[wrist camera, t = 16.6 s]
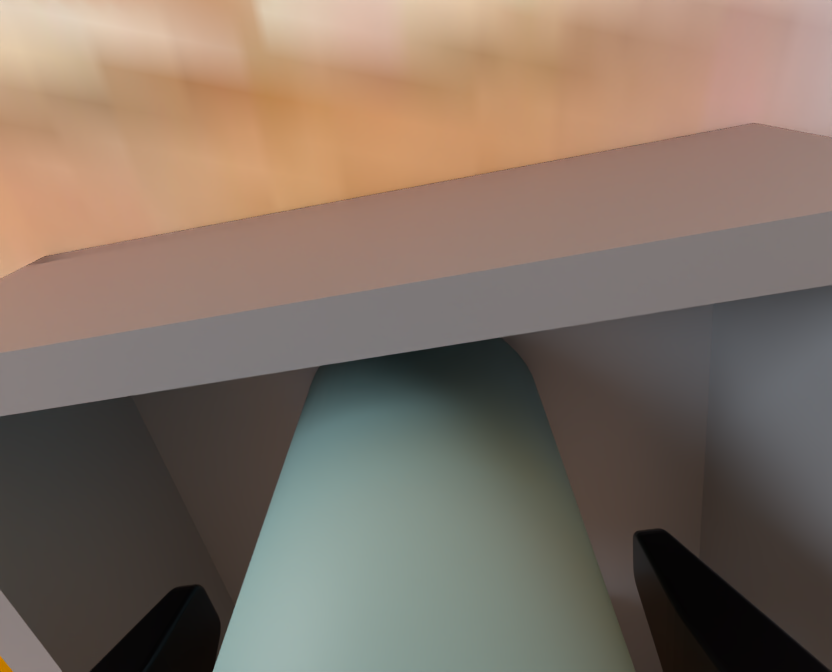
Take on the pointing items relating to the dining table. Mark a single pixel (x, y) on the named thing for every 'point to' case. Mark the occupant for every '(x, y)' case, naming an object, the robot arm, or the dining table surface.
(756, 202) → the tote
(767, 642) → the robot arm
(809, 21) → the dining table surface
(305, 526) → the teal cylinder
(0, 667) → the element tile
